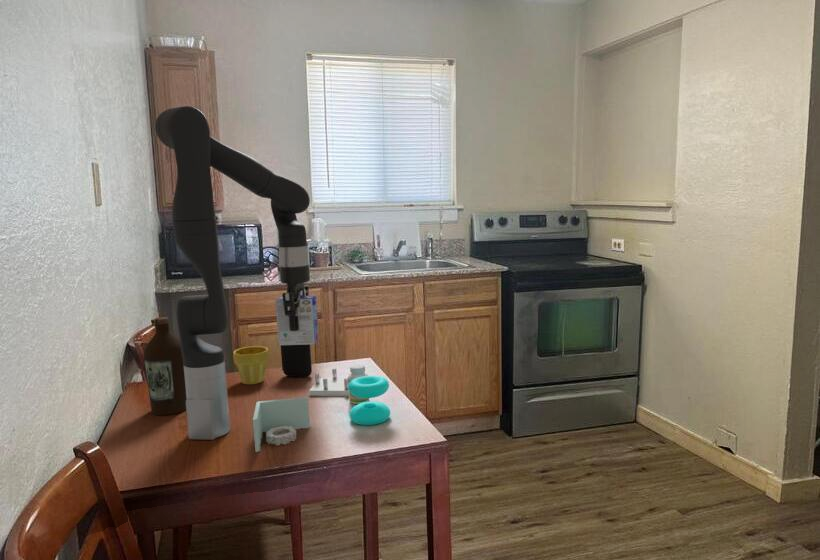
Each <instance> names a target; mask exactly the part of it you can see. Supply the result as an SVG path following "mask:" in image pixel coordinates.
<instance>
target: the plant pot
mask: <svg viewBox="0 0 820 560" xmlns="http://www.w3.org/2000/svg"><path fill="white" fill-rule="evenodd" d="M232 355H233V357H232V358H233V364H235V365H236V367H237V371H238V373H239V377H240V381H241V383H242V384H244V385H256V384H260V383H262V382H263V381H264V380H265V373H266V368H267V362H268V361H269V359H270V358H269V348H268V347H266V346H262V345H261V346H260V345H259V346H258V345H255V346H253V345H252V346H245V347H244V346H243V347H240V348H237V349H235V350H234V351H233V354H232Z"/></svg>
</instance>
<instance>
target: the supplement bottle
mask: <svg viewBox="0 0 820 560" xmlns="http://www.w3.org/2000/svg"><path fill="white" fill-rule="evenodd" d="M349 370H350V371H349V372H350V374H348V377H347V378H348V385H349V383H350V382H351V381H352V380H353V379H355V378H358V377H362V376H369V374H368V373H367V372H366V365H365V364H361V363H360V364H352V365H351V366H350V367H349ZM348 399H349V400H348V401H349V403H351V404H353V405H358V404H360V403H363V402H370V398H359V397H356V396H354V395H352V394H351V393H350V392H349V396H348Z"/></svg>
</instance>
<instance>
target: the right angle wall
mask: <svg viewBox="0 0 820 560" xmlns="http://www.w3.org/2000/svg"><path fill="white" fill-rule="evenodd" d="M252 417H253V418H252V425H253V436H254V440H253V441H254V449H255V450H254V451H255V453H257V452H258V451H260V452H261V446H260V445H261V444H262V440H261V439H262V438H263V434H264V433H263V432H265V437H266V438H265V442H266V443H267V442H268V443H267V444H268V445H272V444H276V445H275V446H278V445H279V446H281V445H282V444H285V445H287V444H286V443H288V444H290V443H291V442H290V441H294V442H295V440H297V437H298V436H297V430H301V429H300V428H303V429H310V428H311V421H310V407H309V396H301V397H292V398H282V399H271V400H269V399H268V400H261V401H256V404H255V408H254V412H253V416H252ZM309 427H310V428H309ZM262 433H263V434H262ZM296 436H297V437H296ZM294 439H295V440H294ZM289 442H290V443H289ZM270 443H271V444H270ZM280 444H281V445H280Z"/></svg>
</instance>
